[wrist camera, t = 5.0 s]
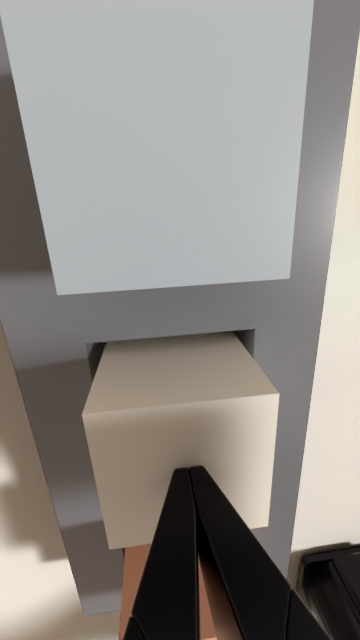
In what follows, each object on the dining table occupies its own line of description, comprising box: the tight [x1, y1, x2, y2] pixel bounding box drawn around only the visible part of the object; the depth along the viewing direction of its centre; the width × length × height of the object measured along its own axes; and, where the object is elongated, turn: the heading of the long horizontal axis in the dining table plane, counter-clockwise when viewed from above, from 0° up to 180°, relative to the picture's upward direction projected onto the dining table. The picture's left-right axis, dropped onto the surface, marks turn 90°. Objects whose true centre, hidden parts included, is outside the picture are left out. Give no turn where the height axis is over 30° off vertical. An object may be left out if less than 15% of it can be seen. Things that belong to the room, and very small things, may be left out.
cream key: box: [82, 331, 280, 550], centre depth 10 cm, size 5×5×5 cm
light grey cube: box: [0, 0, 314, 295], centre depth 7 cm, size 5×5×5 cm
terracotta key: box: [119, 544, 217, 640], centre depth 12 cm, size 5×5×5 cm
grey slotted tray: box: [0, 0, 360, 616], centre depth 12 cm, size 25×11×3 cm, turn 3°
